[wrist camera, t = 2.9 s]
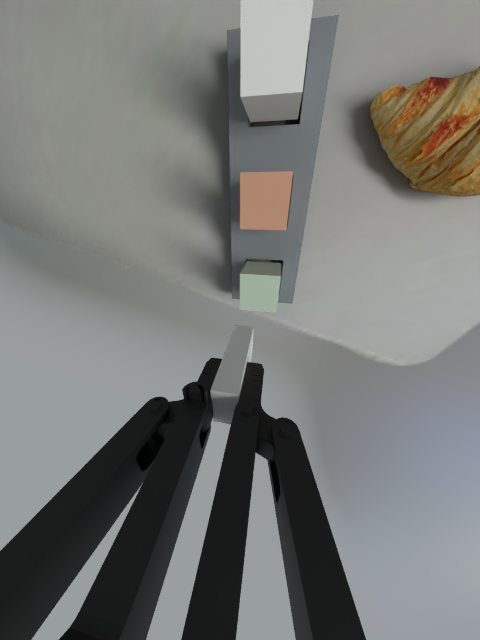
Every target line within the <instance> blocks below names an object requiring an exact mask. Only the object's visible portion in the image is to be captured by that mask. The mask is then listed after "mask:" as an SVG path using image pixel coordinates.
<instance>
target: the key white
mask: <svg viewBox="0 0 480 640" xmlns="http://www.w3.org/2000/svg"><path fill="white" fill-rule="evenodd" d="M312 7H313V0H241V79H240V97H241V100H242V102H243V105H244V107H245V110H246V112H247V115H248V117H249V120H250V122H263V121H279V120H295V119H298V114H299V109H300V103H301V98H302V92H303V84H304V76H305V67H306V58H307V50H308V41H309V33H310V24H311V16H312Z"/></svg>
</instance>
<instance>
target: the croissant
mask: <svg viewBox="0 0 480 640" xmlns="http://www.w3.org/2000/svg"><path fill="white" fill-rule="evenodd" d="M370 114H371V120H373V125H374V128H375V129H376V131H377V133H378V135H379V138H380V142H381V145H382V148H383V149H384V150H385V152H386V153H387V155H388V159H389V160H390V161H391V162H392V164H393V165H394V167H395V168H396V169H398V170H399V171H400V172H402V174H404V175H405V176H406V177H407V178H409V179H410V181H409V185H410V186H411V188H413V189H416V190H420V191H425V192H432V193H438V194H446V195H451V196H473V195H479V194H480V67H479V68H478V69H476V70H475V71H472V72H470V73H465V74H463V75H461V76H456V77H454V78H438V77H430V78H427V79H425V80H423V81H422V82H421V83H417V84H412V85H411V86H410V87H409V88H407V89H406V90H405V87H402V86H396V85H393V86H392V87H390V88H389V89H387V90H385V91H383V92H380V93H378V94H377V95H376V96H375V97H374V100H373V102H372V104H371V105H370Z"/></svg>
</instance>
